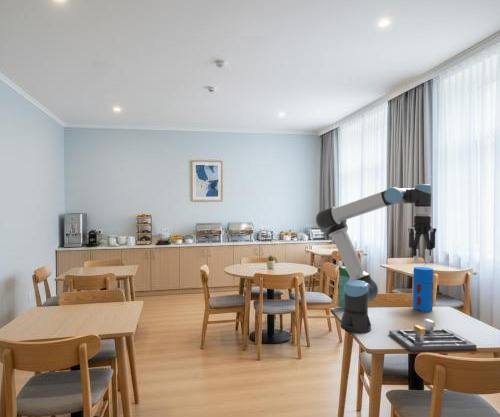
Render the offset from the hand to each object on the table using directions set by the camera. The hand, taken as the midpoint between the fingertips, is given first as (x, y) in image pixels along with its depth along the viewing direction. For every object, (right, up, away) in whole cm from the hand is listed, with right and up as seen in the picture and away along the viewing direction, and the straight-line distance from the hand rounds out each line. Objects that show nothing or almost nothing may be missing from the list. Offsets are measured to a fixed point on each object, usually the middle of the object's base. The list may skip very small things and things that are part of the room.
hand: (421, 262), depth 180 cm
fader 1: (-9, -33, -17) cm, 38 cm away
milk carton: (-24, -34, +42) cm, 60 cm away
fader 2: (0, -33, -7) cm, 33 cm away
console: (-1, -35, -12) cm, 37 cm away
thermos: (+20, -35, +41) cm, 58 cm away
